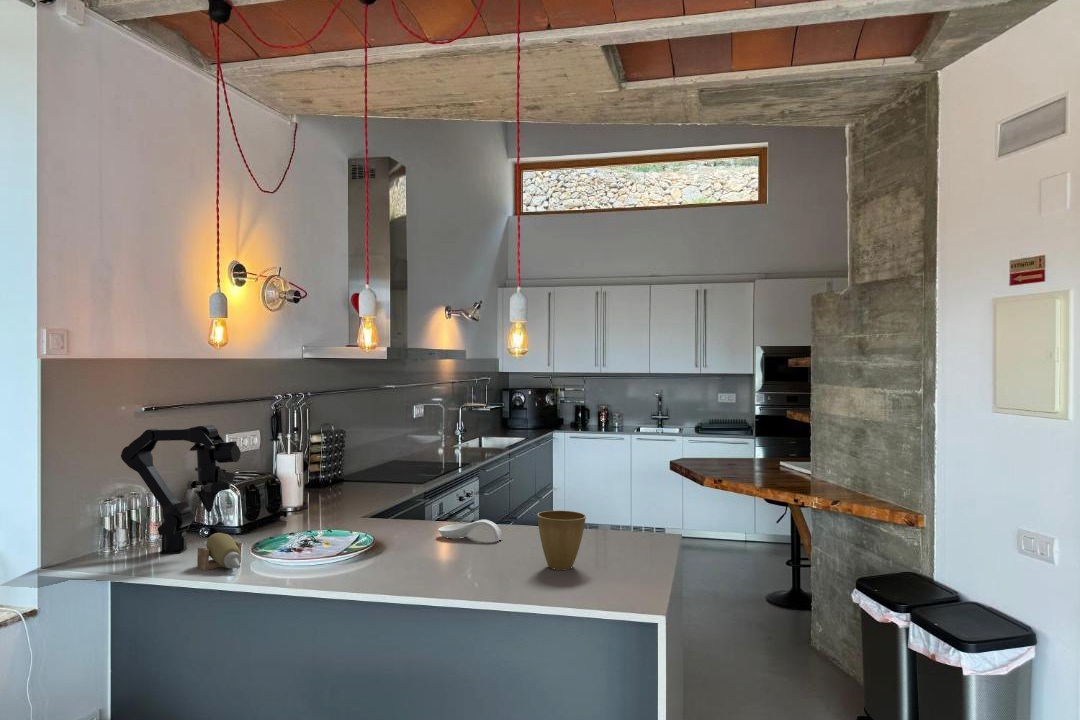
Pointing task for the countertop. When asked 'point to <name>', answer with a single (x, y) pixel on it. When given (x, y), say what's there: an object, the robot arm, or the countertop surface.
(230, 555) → the squeeze bottle
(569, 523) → the plant pot
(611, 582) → the countertop surface
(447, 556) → the countertop surface
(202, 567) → the u rest
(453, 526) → the spoon rest
